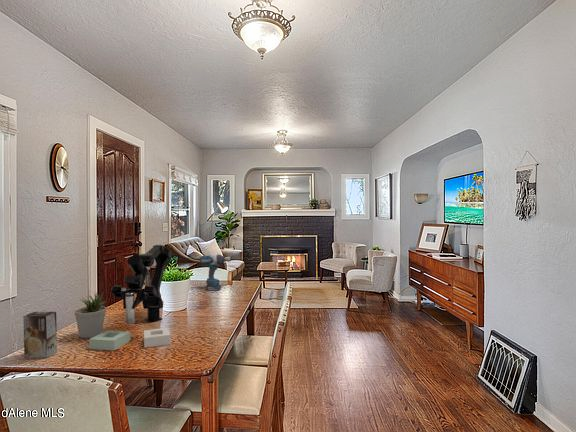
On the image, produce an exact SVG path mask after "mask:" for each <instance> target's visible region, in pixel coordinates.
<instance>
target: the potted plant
mask: <svg viewBox="0 0 576 432" xmlns="http://www.w3.org/2000/svg"><path fill="white" fill-rule="evenodd" d="M104 292H105V291H103V292H102V293H101V295H98V291H97V292H93V293H94V298H93V296H91V295H88V296H87V295H86V298H87V300H86V299H85V298H84V297H81V298H79V300H80V301H81V302H82V303H84V304H85V305H86V306H84V307H80V308H77V309H75V310H74V311H73V313H74V316H75V321H76V326H77V331H78V335H79V338H82V339H91V338H93V337H95V336H97V335H98V334H100V333H102V332H103V331H104V330H103V329H104V328H103V327H104V323H105V316H106V312H107V307H106V306H105V303H106V301H107V300H104V301H103V300H102V299H103V295H104ZM89 298H90V299H89Z"/></svg>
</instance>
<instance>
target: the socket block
mask: <svg viewBox="0 0 576 432" xmlns="http://www.w3.org/2000/svg"><path fill="white" fill-rule="evenodd" d="M170 333H171V332H170V329H169V327H160V328H154V329H153V328H152V329H146V330H145V329H144V330H143V340H144V341H143V348H144V349H146V348H147V347H148V348H152V347H153V348H154V347H160V346H168V345H171V334H170Z"/></svg>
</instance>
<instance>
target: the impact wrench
mask: <svg viewBox="0 0 576 432" xmlns="http://www.w3.org/2000/svg"><path fill="white" fill-rule="evenodd" d="M231 260H232V257H231V256H226V257H225V256H224V255H222V254H220V253H219V254H218V253H217V254H207V255H202V256H200V257H199V260H198V261H199V264H200V267H202V268H208V278H206V282H205V283H206V286H205V287H206V291H208V292H209V291H210V292H217V291H220V290H221V289H222V284H221V283H220V279H218V278H215V276H214V275H215V273H216V271H217V270H218V267H219V266H220V265H222V264H224V263H225V262H228V263H229V262H231Z"/></svg>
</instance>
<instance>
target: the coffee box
mask: <svg viewBox="0 0 576 432" xmlns="http://www.w3.org/2000/svg"><path fill="white" fill-rule="evenodd" d="M22 318H23V352H24V357H23V358H24V359H42V358H45V359H48V358H49V357H51V356H53V355H54V354H56V353H58V337H57V334H58V333H57V331H58V330H57V329H58V328H57V325H58V324H57V311H34V312H31V313H28V314H26V315H24V316H23V317H22Z"/></svg>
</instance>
